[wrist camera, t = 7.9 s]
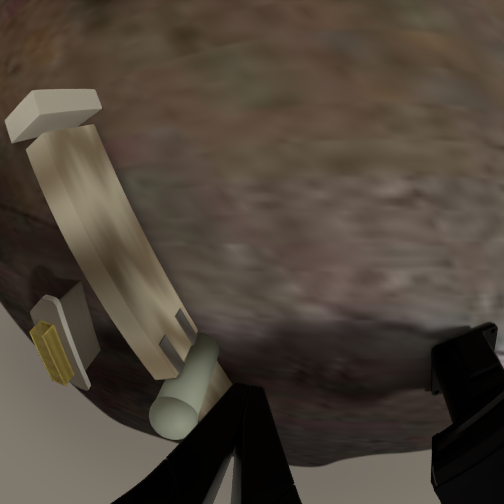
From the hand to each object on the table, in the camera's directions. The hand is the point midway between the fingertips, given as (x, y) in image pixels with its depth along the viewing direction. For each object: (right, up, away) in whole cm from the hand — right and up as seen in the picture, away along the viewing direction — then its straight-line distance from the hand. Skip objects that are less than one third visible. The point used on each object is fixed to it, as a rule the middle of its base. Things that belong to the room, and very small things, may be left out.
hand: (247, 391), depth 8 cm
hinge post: (-4, -4, +16) cm, 17 cm away
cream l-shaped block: (-11, +13, +9) cm, 19 cm away
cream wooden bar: (-8, +5, +12) cm, 15 cm away
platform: (-15, -2, +17) cm, 23 cm away
